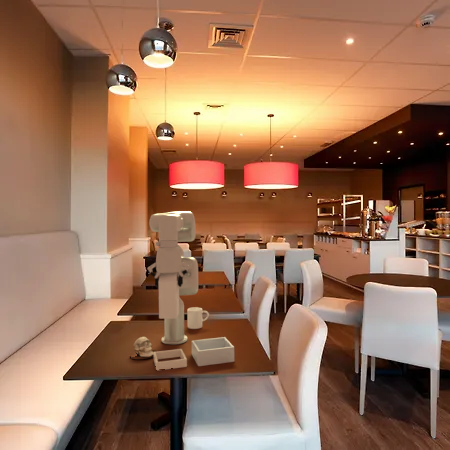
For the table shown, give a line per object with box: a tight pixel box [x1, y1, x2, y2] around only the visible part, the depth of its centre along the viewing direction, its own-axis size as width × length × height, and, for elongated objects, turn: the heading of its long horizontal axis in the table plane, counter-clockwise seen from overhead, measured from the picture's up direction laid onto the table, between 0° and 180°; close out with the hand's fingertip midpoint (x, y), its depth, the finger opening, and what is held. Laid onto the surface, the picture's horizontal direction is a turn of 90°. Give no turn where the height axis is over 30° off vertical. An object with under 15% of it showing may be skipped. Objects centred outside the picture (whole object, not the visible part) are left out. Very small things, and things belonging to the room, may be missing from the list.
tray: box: [153, 348, 188, 371], centre depth 144 cm, size 12×12×3 cm
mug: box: [186, 306, 210, 330], centre depth 193 cm, size 8×12×10 cm
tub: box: [191, 336, 235, 367], centre depth 149 cm, size 13×15×6 cm
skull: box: [130, 336, 158, 360], centre depth 153 cm, size 12×10×10 cm
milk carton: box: [158, 273, 180, 320], centre depth 144 cm, size 7×7×19 cm
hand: (168, 286), depth 144 cm, fingers closed on milk carton, 8 cm apart
